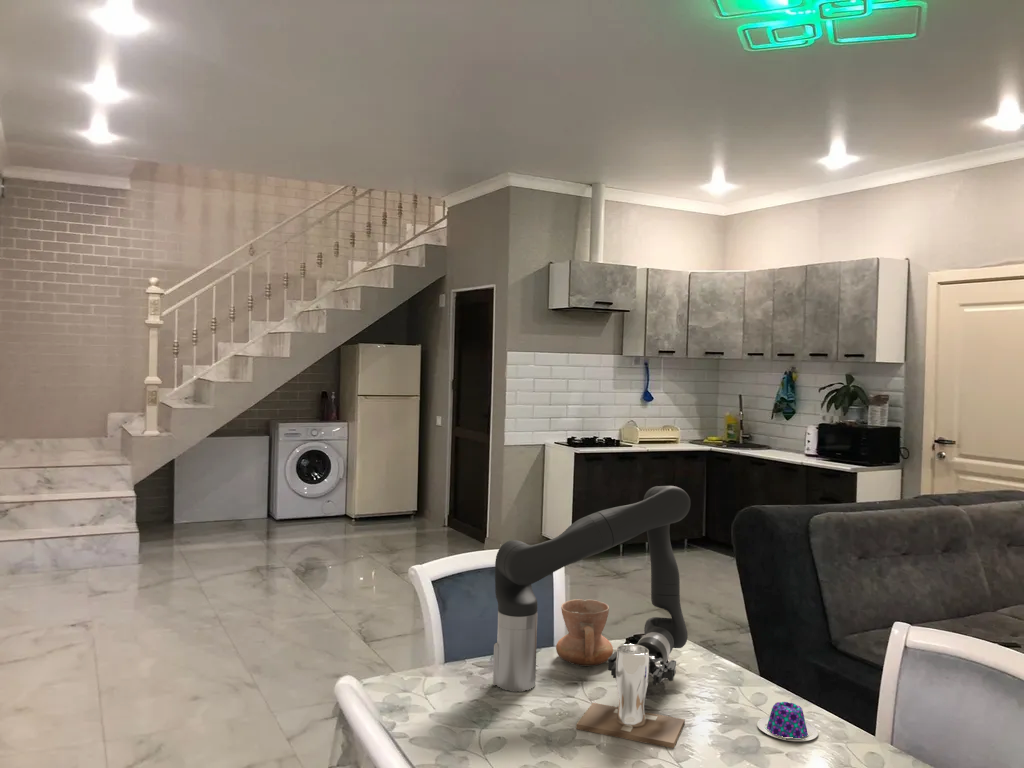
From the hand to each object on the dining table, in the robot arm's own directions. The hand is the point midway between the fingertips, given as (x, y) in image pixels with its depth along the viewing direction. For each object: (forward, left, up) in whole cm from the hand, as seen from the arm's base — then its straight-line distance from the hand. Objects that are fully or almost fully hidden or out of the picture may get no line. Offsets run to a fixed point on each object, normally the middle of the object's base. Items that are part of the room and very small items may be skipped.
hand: (634, 677), depth 168 cm
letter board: (0, -2, -10) cm, 10 cm away
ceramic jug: (-20, +30, -10) cm, 38 cm away
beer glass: (0, -2, -9) cm, 9 cm away
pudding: (+30, +10, -10) cm, 33 cm away
